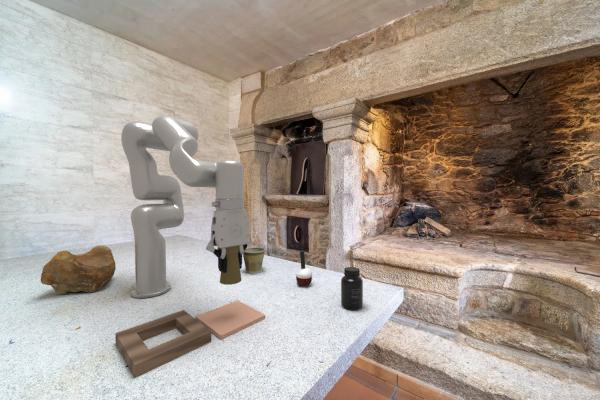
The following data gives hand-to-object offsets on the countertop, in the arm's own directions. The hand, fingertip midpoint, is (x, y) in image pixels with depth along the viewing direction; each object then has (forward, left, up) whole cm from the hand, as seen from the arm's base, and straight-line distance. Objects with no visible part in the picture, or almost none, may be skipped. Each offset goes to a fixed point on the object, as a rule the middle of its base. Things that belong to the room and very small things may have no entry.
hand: (230, 269), depth 71 cm
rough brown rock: (-58, -24, -15) cm, 65 cm away
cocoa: (-2, +34, -15) cm, 37 cm away
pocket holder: (-2, -17, -14) cm, 22 cm away
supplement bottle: (+21, +31, -15) cm, 40 cm away
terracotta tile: (0, 0, -14) cm, 15 cm away
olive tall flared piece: (0, 0, -3) cm, 4 cm away
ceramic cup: (-30, +31, -15) cm, 46 cm away
